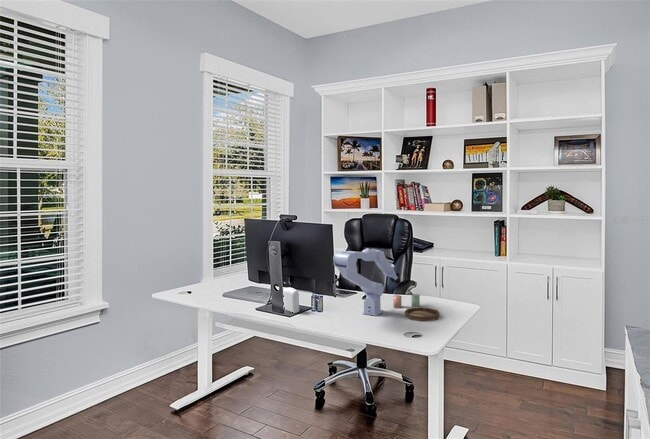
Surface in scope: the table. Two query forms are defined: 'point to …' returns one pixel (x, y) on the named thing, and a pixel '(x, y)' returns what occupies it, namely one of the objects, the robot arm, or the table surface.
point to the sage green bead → (415, 300)
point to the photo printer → (291, 299)
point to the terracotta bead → (397, 301)
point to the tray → (421, 314)
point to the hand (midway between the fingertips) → (395, 279)
